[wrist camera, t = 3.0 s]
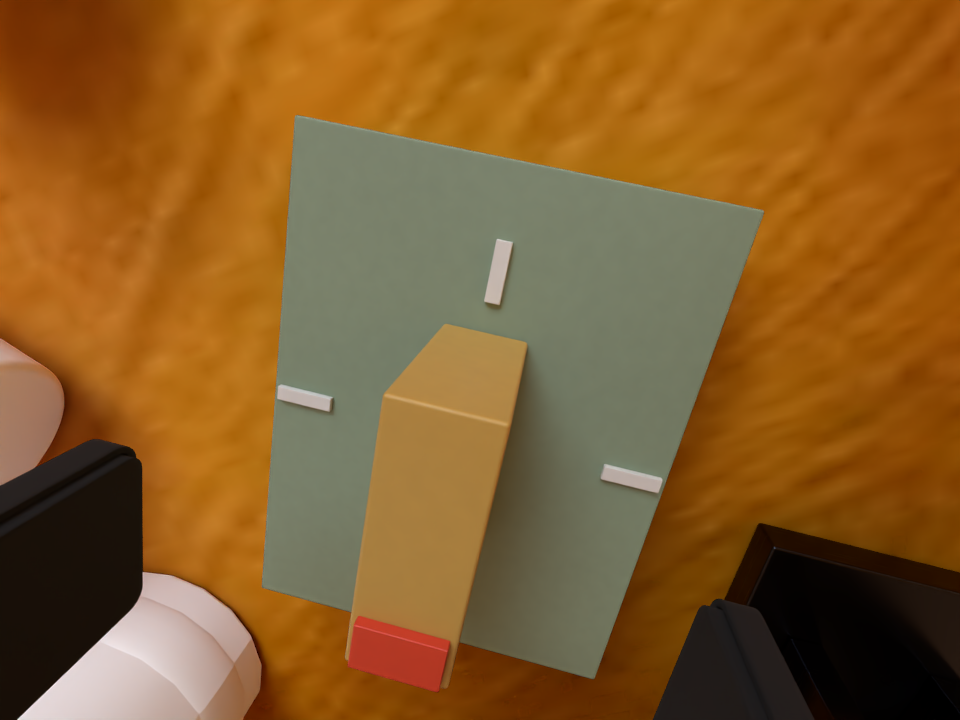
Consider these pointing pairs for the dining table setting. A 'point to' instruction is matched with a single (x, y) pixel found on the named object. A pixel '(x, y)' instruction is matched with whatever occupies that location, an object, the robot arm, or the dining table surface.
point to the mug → (26, 411)
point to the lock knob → (431, 504)
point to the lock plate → (545, 377)
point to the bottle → (161, 663)
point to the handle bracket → (856, 626)
